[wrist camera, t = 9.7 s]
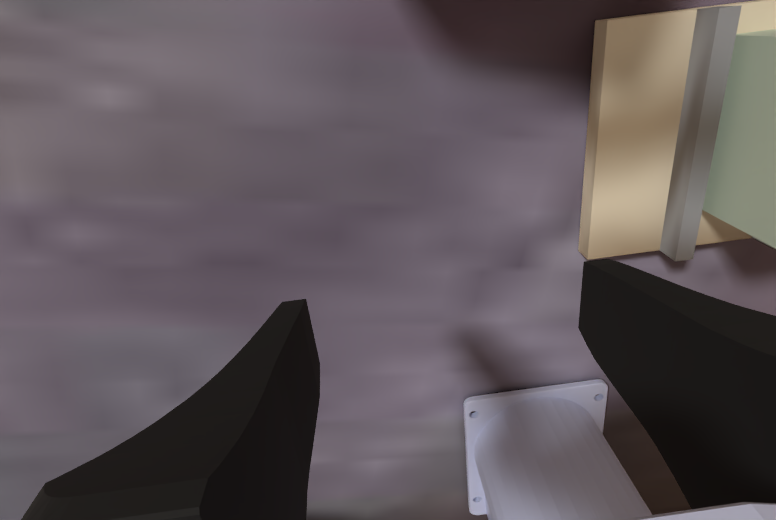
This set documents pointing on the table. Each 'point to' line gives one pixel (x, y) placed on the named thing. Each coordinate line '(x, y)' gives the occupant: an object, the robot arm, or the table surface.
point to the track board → (659, 128)
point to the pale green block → (747, 141)
